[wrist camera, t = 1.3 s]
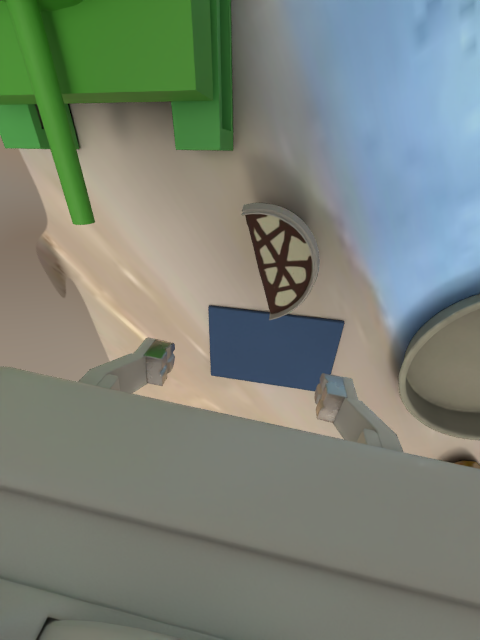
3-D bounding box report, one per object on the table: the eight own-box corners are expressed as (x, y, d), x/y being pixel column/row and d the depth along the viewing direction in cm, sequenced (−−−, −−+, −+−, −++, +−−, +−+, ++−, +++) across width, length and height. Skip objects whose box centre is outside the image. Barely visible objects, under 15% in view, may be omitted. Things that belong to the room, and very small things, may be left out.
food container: (321, 278, 37) (328, 316, 28) (276, 286, 38) (270, 324, 30) (307, 179, 31) (310, 188, 23) (255, 194, 33) (240, 208, 24)
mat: (343, 320, 39) (344, 322, 39) (325, 390, 47) (325, 393, 46) (209, 305, 42) (208, 307, 42) (211, 373, 49) (210, 375, 49)
